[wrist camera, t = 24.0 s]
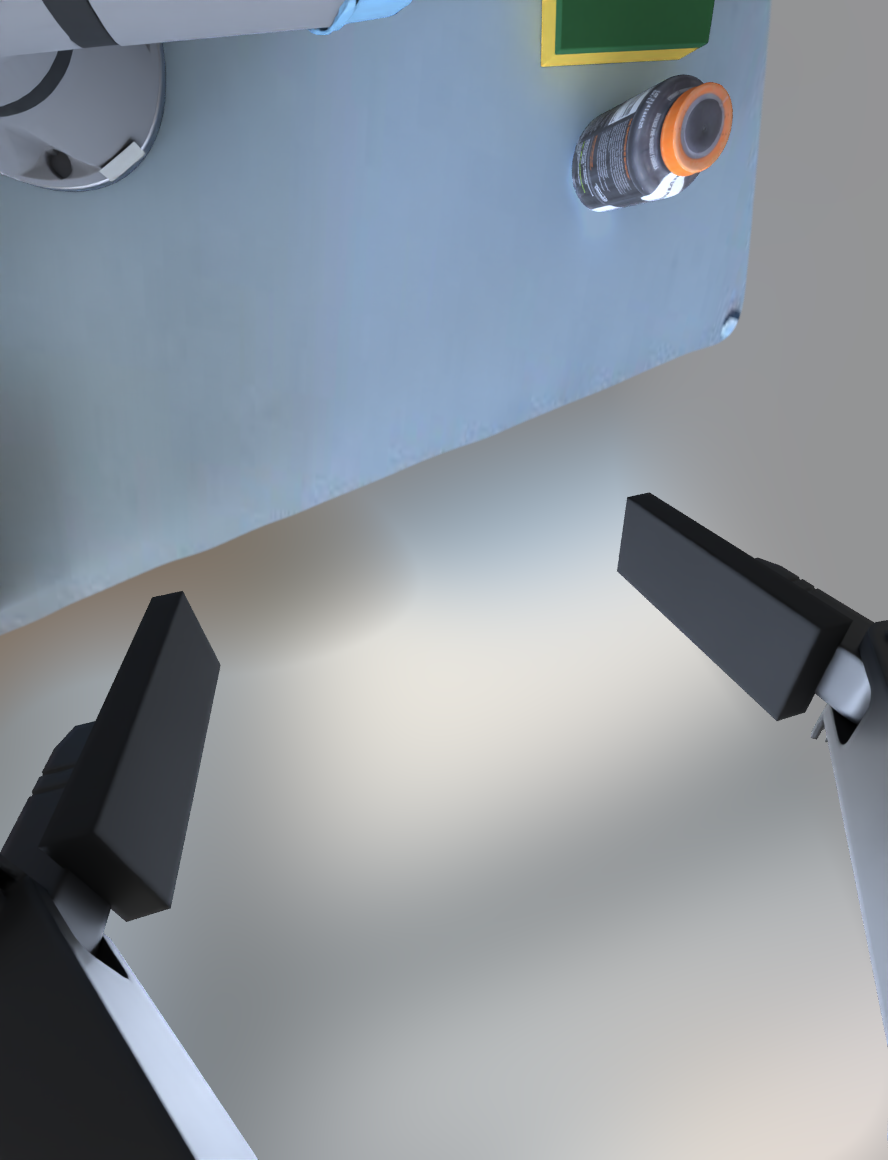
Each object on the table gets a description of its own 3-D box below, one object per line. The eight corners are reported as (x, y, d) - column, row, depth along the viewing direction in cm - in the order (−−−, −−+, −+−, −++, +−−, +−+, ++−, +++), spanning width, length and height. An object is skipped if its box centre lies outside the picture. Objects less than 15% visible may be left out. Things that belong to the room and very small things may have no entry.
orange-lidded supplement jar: (618, 223, 39) (715, 207, 30) (558, 198, 37) (642, 173, 28) (651, 130, 36) (768, 82, 27) (587, 98, 34) (691, 34, 25)
